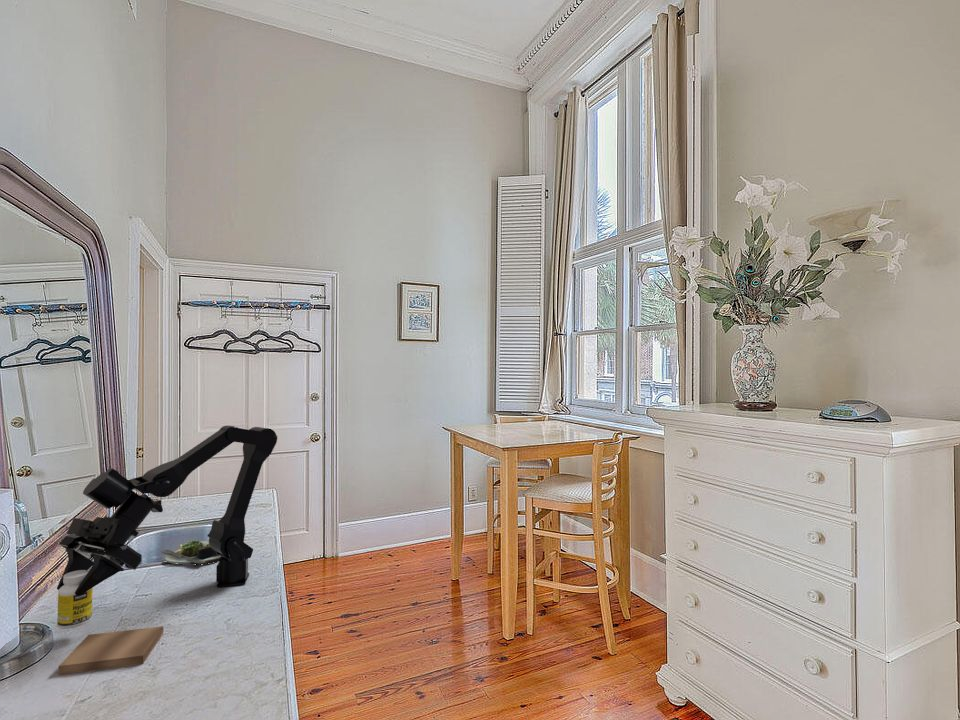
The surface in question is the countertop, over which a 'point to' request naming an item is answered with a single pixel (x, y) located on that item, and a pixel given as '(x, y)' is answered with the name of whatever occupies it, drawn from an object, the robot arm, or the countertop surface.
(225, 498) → the countertop surface
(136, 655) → the serving board
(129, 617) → the countertop surface
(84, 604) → the supplement bottle
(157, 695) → the countertop surface
